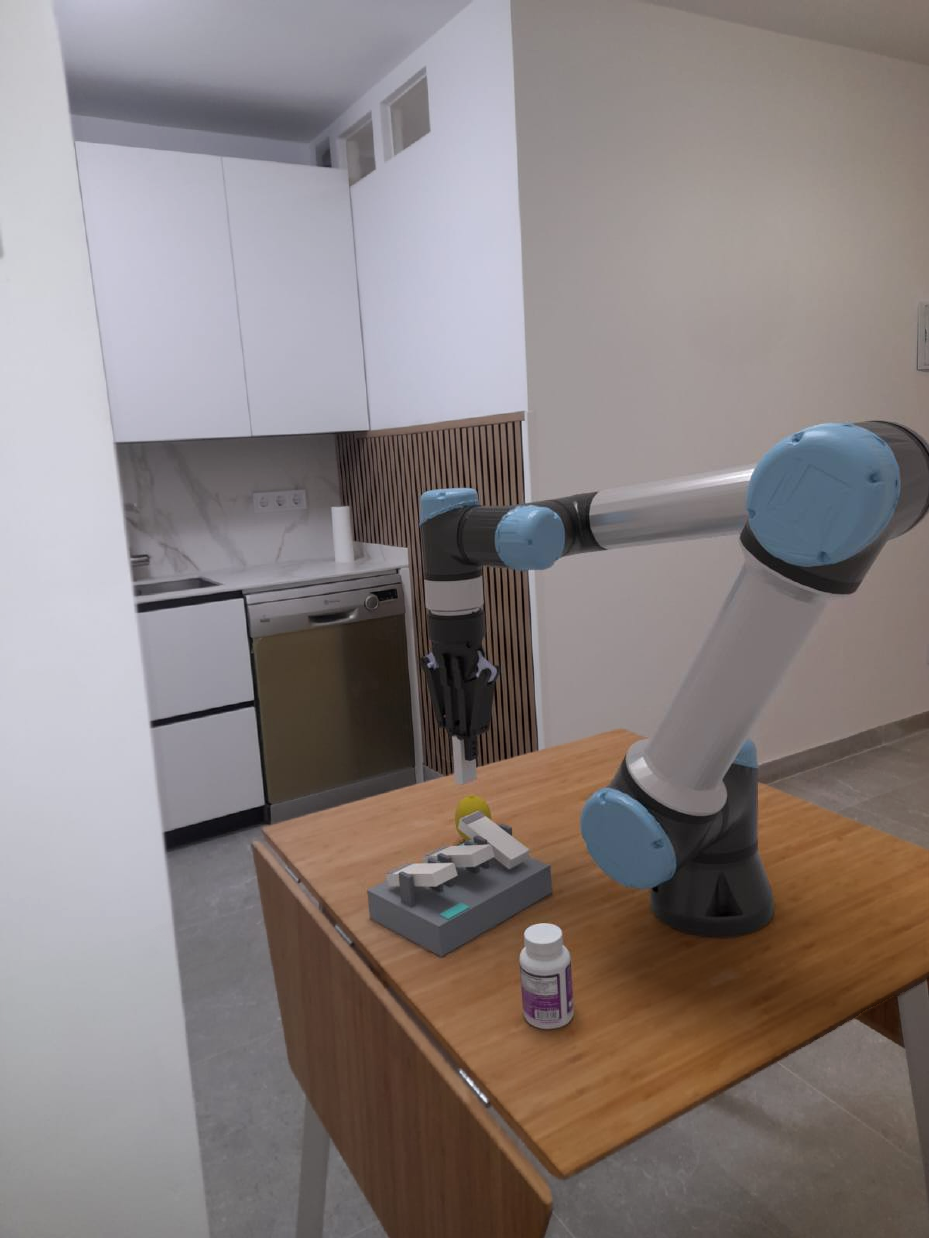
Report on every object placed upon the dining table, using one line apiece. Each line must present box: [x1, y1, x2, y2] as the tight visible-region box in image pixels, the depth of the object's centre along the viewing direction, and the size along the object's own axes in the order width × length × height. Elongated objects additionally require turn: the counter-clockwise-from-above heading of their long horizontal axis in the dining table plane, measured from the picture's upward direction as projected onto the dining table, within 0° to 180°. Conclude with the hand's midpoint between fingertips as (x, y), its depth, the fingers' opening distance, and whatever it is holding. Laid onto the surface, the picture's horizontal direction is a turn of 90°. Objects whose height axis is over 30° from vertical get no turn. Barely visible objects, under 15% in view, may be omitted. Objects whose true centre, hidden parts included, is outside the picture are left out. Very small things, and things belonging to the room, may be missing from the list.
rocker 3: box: [458, 811, 531, 869], centre depth 123 cm, size 10×4×2 cm, turn 44°
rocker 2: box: [423, 844, 495, 867], centre depth 119 cm, size 10×4×2 cm, turn 43°
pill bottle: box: [519, 922, 575, 1030], centre depth 95 cm, size 5×5×10 cm
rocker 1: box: [385, 862, 458, 887], centre depth 115 cm, size 10×4×2 cm, turn 43°
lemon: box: [454, 793, 493, 841], centre depth 137 cm, size 6×6×8 cm
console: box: [366, 823, 553, 958], centre depth 119 cm, size 14×20×8 cm
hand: (466, 780), depth 122 cm, fingers closed
